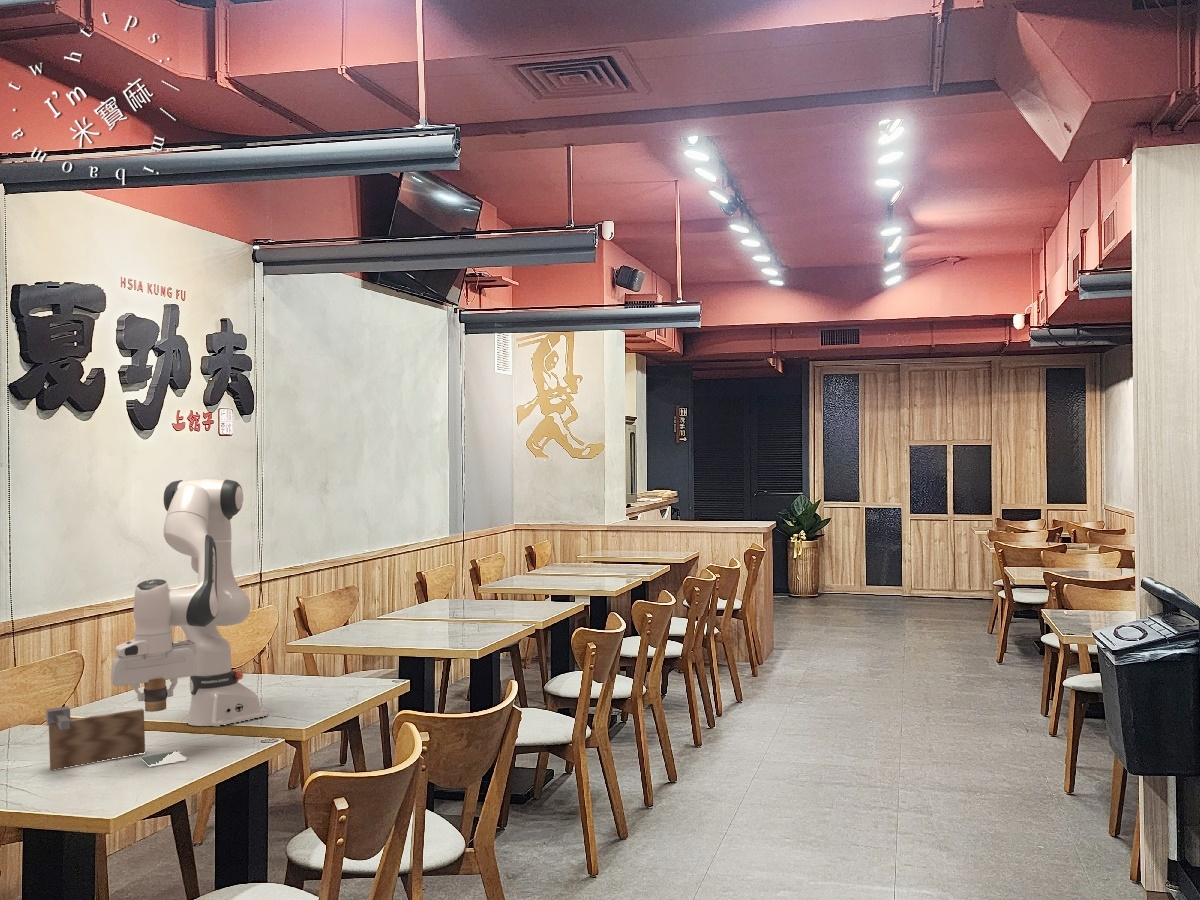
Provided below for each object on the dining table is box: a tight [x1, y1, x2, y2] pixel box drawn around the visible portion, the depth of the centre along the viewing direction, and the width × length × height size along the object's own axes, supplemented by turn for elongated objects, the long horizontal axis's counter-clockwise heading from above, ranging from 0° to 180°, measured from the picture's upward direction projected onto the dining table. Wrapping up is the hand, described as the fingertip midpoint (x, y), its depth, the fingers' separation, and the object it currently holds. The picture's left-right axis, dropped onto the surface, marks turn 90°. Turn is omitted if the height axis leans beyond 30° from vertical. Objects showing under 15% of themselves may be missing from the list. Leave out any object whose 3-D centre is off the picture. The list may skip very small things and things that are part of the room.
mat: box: [140, 750, 178, 765], centre depth 270 cm, size 9×9×1 cm
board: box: [48, 708, 146, 771], centre depth 271 cm, size 22×2×12 cm, turn 125°
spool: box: [143, 678, 168, 713], centre depth 270 cm, size 5×5×8 cm
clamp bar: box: [45, 706, 71, 730], centre depth 262 cm, size 5×14×3 cm, turn 35°
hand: (155, 698), depth 270 cm, fingers closed on spool, 5 cm apart
